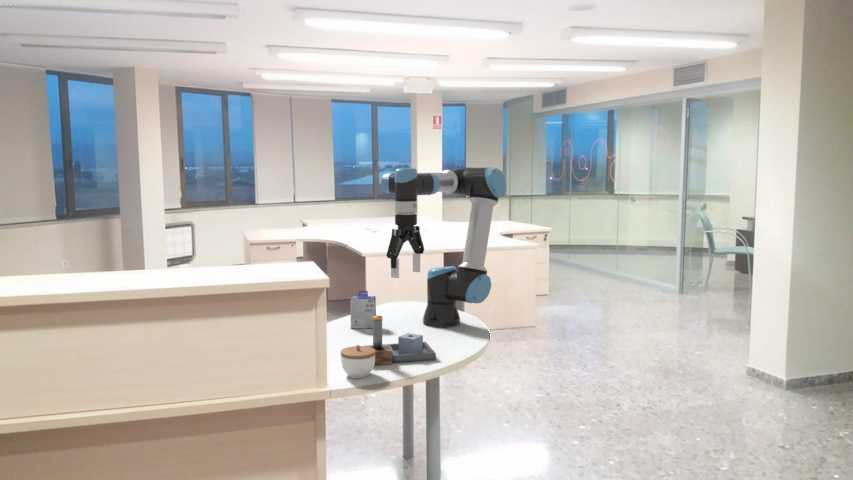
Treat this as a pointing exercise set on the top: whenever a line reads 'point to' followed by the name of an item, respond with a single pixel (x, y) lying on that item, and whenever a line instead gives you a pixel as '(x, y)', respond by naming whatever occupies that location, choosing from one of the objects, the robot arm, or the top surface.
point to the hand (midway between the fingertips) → (406, 274)
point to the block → (410, 344)
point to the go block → (383, 355)
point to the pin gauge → (377, 332)
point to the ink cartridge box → (362, 310)
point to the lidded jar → (358, 360)
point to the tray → (401, 358)
